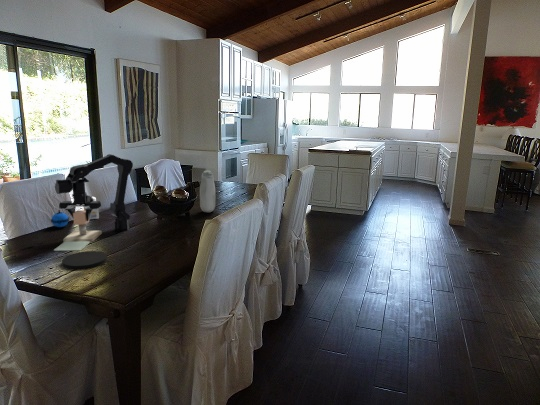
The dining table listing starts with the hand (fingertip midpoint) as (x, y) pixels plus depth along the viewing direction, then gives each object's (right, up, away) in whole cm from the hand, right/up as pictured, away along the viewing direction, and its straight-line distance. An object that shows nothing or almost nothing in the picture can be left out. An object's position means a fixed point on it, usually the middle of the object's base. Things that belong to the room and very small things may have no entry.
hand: (81, 221), depth 198 cm
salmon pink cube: (0, -1, 0) cm, 1 cm away
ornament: (-21, -4, +19) cm, 28 cm away
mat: (+1, -12, -12) cm, 17 cm away
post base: (0, -9, +2) cm, 9 cm away
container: (-13, 0, +39) cm, 41 cm away
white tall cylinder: (+55, +3, +60) cm, 81 cm away
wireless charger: (+16, -17, -29) cm, 38 cm away
